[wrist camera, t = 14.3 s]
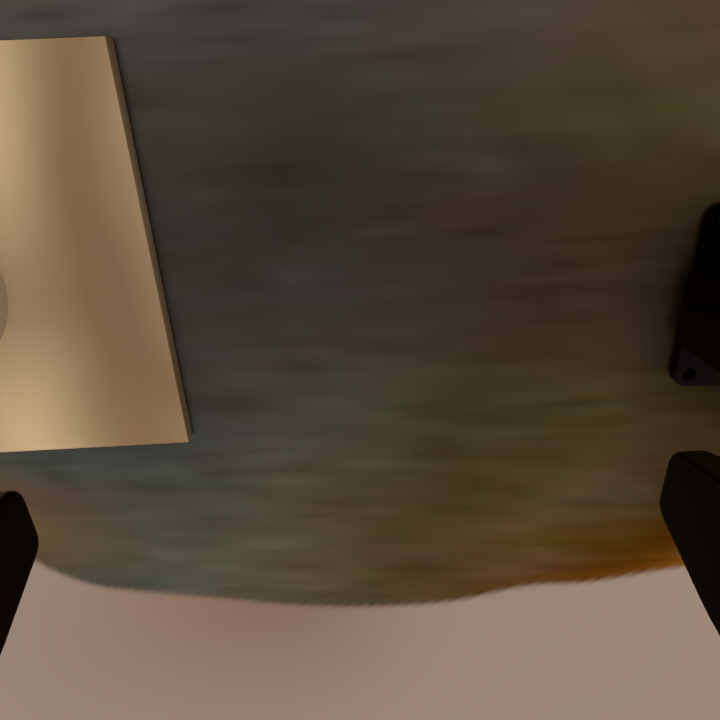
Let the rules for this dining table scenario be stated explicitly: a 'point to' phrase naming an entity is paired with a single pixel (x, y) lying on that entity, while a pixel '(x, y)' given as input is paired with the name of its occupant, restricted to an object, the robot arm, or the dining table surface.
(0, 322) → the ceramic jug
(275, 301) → the dining table surface
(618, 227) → the dining table surface
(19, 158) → the serving board
